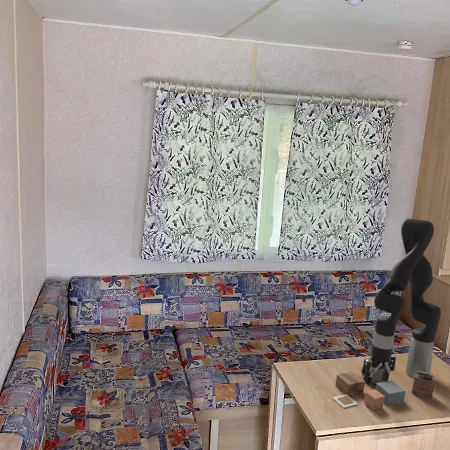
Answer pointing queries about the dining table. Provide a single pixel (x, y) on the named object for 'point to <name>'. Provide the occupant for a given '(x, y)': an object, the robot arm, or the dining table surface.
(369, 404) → the terracotta cube
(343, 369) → the dining table surface
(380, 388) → the slate block
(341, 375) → the walnut block
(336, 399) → the white square frame
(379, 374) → the coffee pot
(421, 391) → the lighter
